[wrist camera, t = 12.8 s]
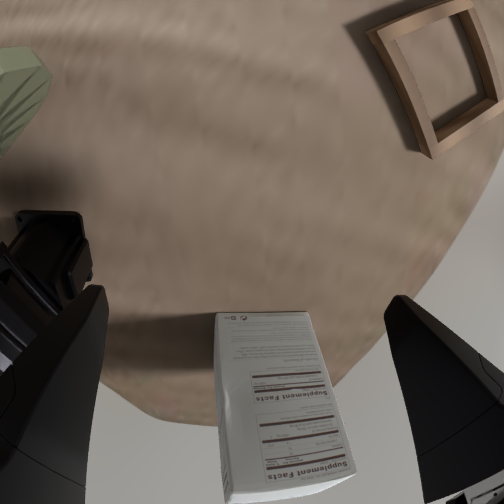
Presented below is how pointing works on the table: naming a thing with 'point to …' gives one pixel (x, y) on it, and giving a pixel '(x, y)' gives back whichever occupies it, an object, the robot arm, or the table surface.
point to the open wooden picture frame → (407, 87)
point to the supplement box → (276, 409)
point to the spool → (20, 91)
